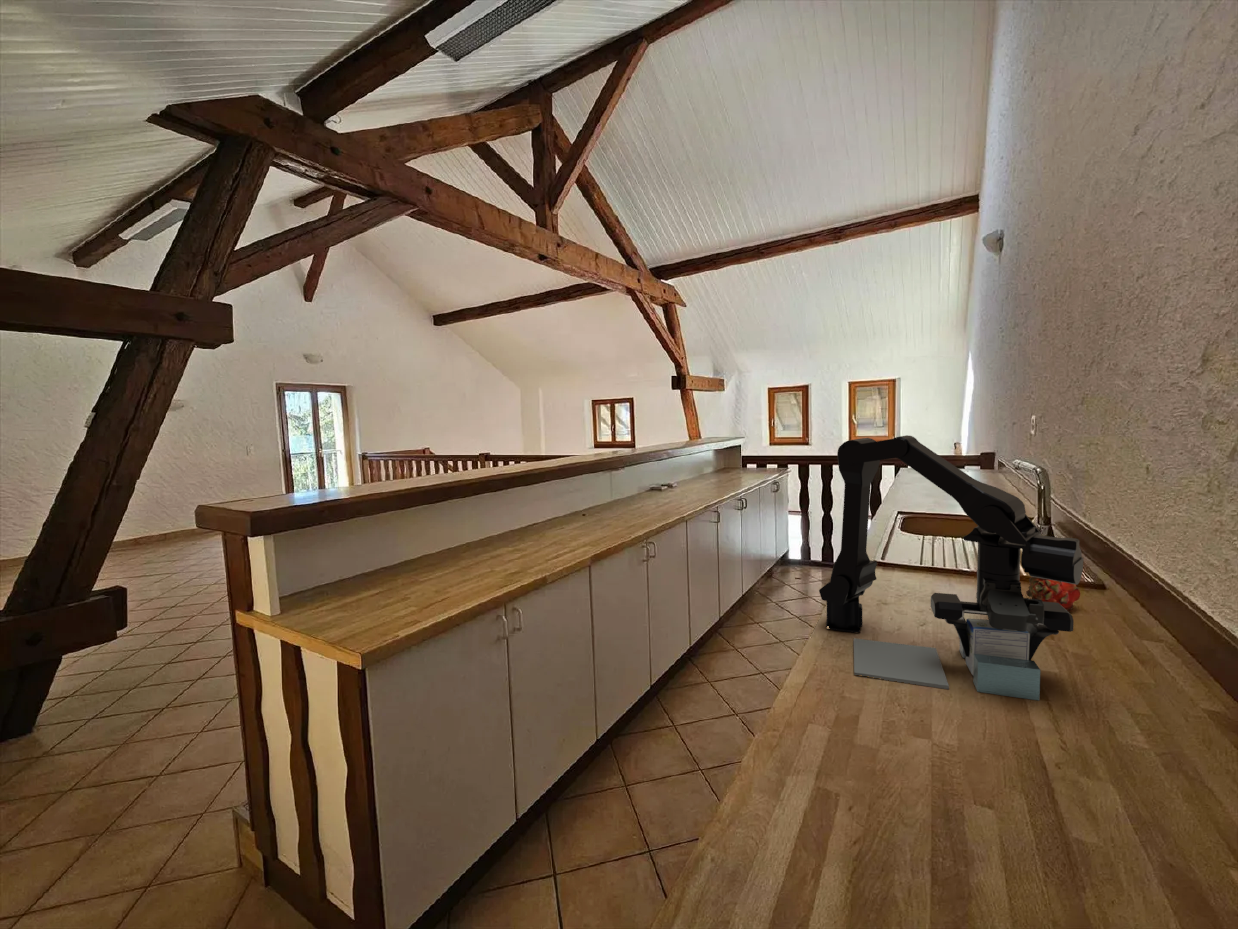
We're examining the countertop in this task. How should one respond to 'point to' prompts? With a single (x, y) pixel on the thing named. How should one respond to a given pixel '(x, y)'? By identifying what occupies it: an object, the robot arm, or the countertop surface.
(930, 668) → the rubber mat
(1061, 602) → the dragon fruit
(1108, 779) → the countertop surface
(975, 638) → the medicine box
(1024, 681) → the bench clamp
